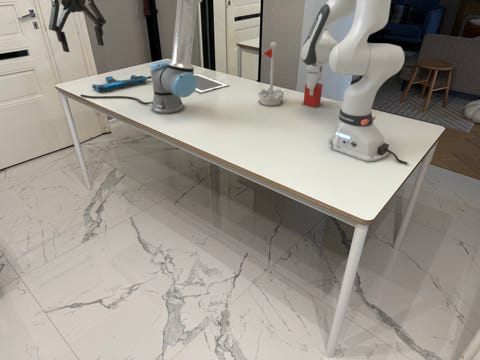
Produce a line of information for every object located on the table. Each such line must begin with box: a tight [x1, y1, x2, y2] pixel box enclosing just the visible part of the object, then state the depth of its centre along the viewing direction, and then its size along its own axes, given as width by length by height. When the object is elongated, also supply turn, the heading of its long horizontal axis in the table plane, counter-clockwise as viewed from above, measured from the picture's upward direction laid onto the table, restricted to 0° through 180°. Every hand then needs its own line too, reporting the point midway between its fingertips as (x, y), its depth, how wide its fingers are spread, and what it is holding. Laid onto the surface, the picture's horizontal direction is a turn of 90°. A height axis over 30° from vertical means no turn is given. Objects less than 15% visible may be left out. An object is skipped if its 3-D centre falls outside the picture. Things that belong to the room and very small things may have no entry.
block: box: [302, 82, 323, 108], centre depth 174 cm, size 5×7×11 cm
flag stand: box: [258, 41, 285, 107], centre depth 172 cm, size 13×13×30 cm
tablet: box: [193, 73, 229, 94], centre depth 207 cm, size 32×20×1 cm, turn 41°
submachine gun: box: [91, 74, 152, 93], centre depth 206 cm, size 34×4×25 cm
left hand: (84, 48), depth 124 cm, fingers open, 13 cm apart
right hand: (313, 92), depth 174 cm, fingers open, 8 cm apart
